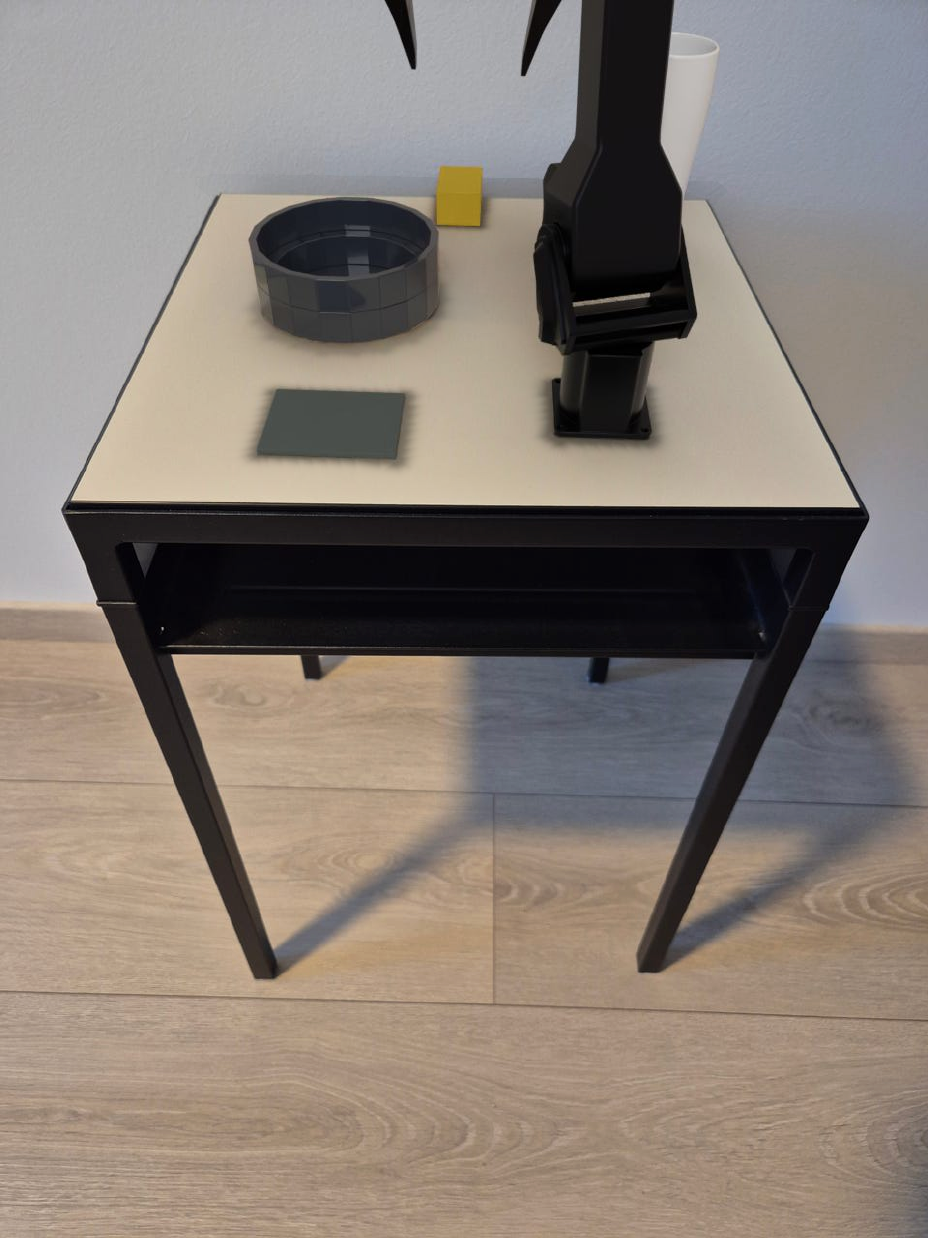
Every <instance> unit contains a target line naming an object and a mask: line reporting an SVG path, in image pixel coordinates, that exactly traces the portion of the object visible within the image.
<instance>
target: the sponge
mask: <svg viewBox="0 0 928 1238" xmlns="http://www.w3.org/2000/svg"><path fill="white" fill-rule="evenodd" d="M483 168H484V167H482V166H458V165H440V166H439V170H438V177H437V178H438V179H437V183H436V190H435V195H436V197H435V198H436V200H435V202H436V205H435V207H436V209H435V210H436V213H435V214H436V225H437V226H459V227H460V226H461V227H480V226H481V220H482V219H481V217H482V200H483Z"/></svg>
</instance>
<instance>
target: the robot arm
mask: <svg viewBox="0 0 928 1238" xmlns="http://www.w3.org/2000/svg"><path fill="white" fill-rule="evenodd" d="M562 1H563V0H531V4H530V10H529V13H528V14H529V15H528V19H527V25H526V29H525V35H524V40H523V46H522V51H521V52H522V53H521V64H520V76H521V77H527V74H528V71H529V69H530V67H531V64H532V61H533V59H534V57H535V54H536V53H537V50H538V47H539V45H540V42H541V39H542V37H543V36H544V34H545V31H546V29H547V28H548V25H549V24H550V22H551V20H552V18H553V16H554V15H555V13H556V11H557V9H558V8H559V7H560V4H561V3H562ZM384 3H385V5H386V7H387V8H388V10H389V13H390V15H391V17H392V19H393V22H394V24H395V27H396V30H397V33H398V35H399V38H400V42H401V44H402V47H403V49H404V53H405V55H406V58H407V61H408V65H409V67H410V69H411V70H412V71H416V70H417V66H418V42H417V31H416V22H415V12H414V3H413V0H384ZM580 8H581V9H580V31H579V32H580V33H579V49H578V50H579V52H578V53H579V54H578V70H577V71H578V74H577V93H576V114H575V116H576V117H575V133H574V138H573V140H572V142H571V143H570V145H569V147H568V149H567V151H566V152H565V154H564V156H563V158H562V159H561V161H560V162H553V163H552V162H551V163H549V165H548V167H547V168H546V171H545V173H544V176H543V178H542V194H543V195H542V199H543V200H542V203H543V205H542V206H543V208H542V221H541V226H540V227H539V229H538V231H537V235H536V241H535V242H534V249H533V252H532V262H533V268H534V278H535V299H536V300H535V301H536V312H537V315H538V321H539V324H538V336H537V337H538V339H539V341H540V342H541V343H543V344H547V345H550V346H552V347H556V349H557V351H558V352H559V354H560V355H561V356H562V357H563V358H562V359H563V360H562V368H561V377H554V378H552V379H551V383H550V394H551V395H550V396H551V414H552V415H551V416H552V432H553V435H554V436H556V437H559V438H575V439H576V438H580V439H605V440H607V439H608V440H633V441H634V440H637V441H638V440H639V441H647V440H650V439H651V437H652V433H653V429H652V423H651V418H650V412H649V406H648V400H647V396H646V391H647V388H648V387H647V386H648V382H649V376H650V371H651V367H652V366H651V365H652V360H653V356H654V351H655V345H656V342H660V341H667V340H672V339H673V340H674V339H678V340H683V339H687V338H688V337H689V335H690V333H691V330H692V329H693V327H694V325H695V323H696V321H697V319H698V309H697V304H696V298H695V297H696V296H695V291H694V286H693V280H692V273H691V268H690V262H689V257H688V250H687V243H686V238H685V237H686V236H685V232H684V228H683V223H682V219H683V204H682V201H683V202H684V200H683V193H682V189H681V187H680V185H679V183H678V181H677V178H676V176H675V174H674V172H673V169H672V167H671V165H670V163H669V160H668V158H667V156H666V154H665V151H664V149H663V147H662V145H661V128H662V118H663V108H664V98H665V89H666V79H667V69H668V59H669V49H670V40H671V32H672V30H673V19H674V9H675V0H581V7H580ZM644 294H649V296H645V297H637V298H636V297H635V298H629V299H621V300H614V301H606V302H599V303H591V304H584V305H576V306H574V303H581V302H583V303H584V302H590V301H599V300H605V299H606V300H607V299H611V298H612V299H613V298H621V297H628V296H636V295H644Z"/></svg>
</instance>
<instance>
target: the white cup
mask: <svg viewBox="0 0 928 1238" xmlns="http://www.w3.org/2000/svg"><path fill="white" fill-rule="evenodd" d="M720 51H721V48H720V45H719V43H718V42H716V41H715V40H713V39H711V38H708V37H706V36H703V35H699V34H694V33H688V32H678V31H674V32H673V31H671V40H670V49H669V59H668V69H667V79H666V89H665V98H664V108H663V118H662V128H661V145H662V147H663V149H664V151H665V154H666V156H667V158H668V160H669V163H670V165H671V167H672V169H673V172H674V174H675V176H676V178H677V181H678V183H679V185H680V187H681V189H682V193H683V201H682V205H683V204H684V199H685V196H686V192H687V188H688V185H689V181H690V178H691V174H692V171H693V167H694V164H695V161H696V156H697V154H698V153H697V152H698V149H699V145H700V142H701V138H702V135H703V131H704V127H705V124H706V120H707V118H708V117H707V116H708V113H709V109H710V105H711V101H712V97H713V92H714V87H715V81H716V75H717V70H718V63H719V57H720Z"/></svg>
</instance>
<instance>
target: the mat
mask: <svg viewBox="0 0 928 1238" xmlns="http://www.w3.org/2000/svg"><path fill="white" fill-rule="evenodd" d="M405 400H406V394H405V393H404V392H383V391H382V392H379V391H378V392H377V391H351V390H350V391H347V390H321V389H320V390H319V389H293V388H292V389H290V388H289V389H287V388H276V390H275V393H274V396H273V399H272V402H271V404H270V407H269V411H268V414H267V416H266V420H265V423H264V426H263V428H262V432H261V435H260V437H259V441H258V444H257V447H256V454H257V455H269V456H270V455H271V456H272V455H273V456H300V457H326V458H327V457H328V458H353V459H354V458H358V459H385V460H386V459H388V460H396V459H397V453H398V448H399V447H398V446H399V441H400V434H401V429H402V421H403V414H404V407H405Z"/></svg>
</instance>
